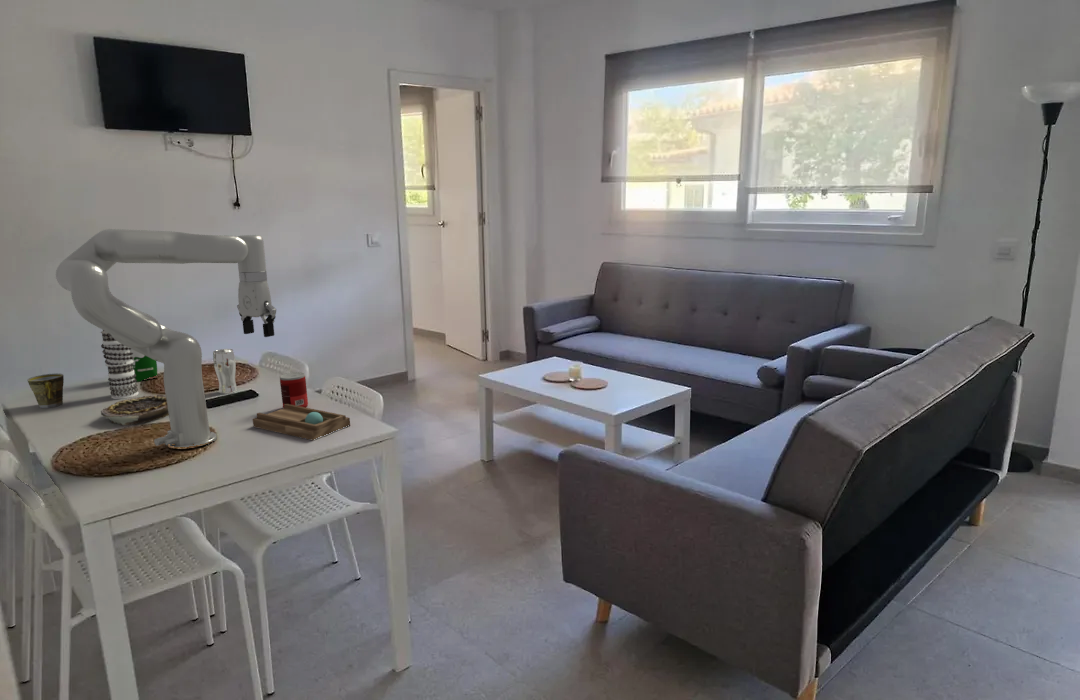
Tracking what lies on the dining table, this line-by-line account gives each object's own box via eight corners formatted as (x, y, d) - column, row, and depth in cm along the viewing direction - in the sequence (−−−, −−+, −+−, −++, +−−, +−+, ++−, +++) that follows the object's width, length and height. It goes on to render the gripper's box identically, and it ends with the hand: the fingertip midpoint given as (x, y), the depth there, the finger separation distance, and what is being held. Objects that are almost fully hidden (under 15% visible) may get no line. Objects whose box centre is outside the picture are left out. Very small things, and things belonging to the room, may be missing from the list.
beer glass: (219, 390, 244) (213, 349, 241) (240, 388, 246) (234, 347, 243) (216, 395, 238) (210, 353, 235) (237, 393, 240) (232, 352, 237)
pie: (206, 412, 220) (203, 397, 219) (117, 438, 199) (114, 422, 197) (161, 399, 236) (159, 386, 235) (74, 423, 214) (71, 408, 213)
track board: (313, 440, 190) (311, 428, 190) (253, 426, 203) (252, 415, 203) (350, 425, 202) (349, 413, 201) (291, 413, 215) (290, 402, 214)
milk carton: (135, 383, 257) (126, 331, 253) (130, 378, 264) (122, 328, 259) (160, 378, 263) (153, 328, 258) (155, 374, 269) (148, 325, 265)
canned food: (312, 404, 225) (308, 372, 222) (301, 411, 217) (298, 378, 215) (290, 403, 226) (286, 372, 223) (278, 411, 218) (275, 378, 215)
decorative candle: (119, 400, 234) (107, 329, 229) (104, 397, 239) (92, 327, 233) (145, 393, 242) (134, 325, 237) (130, 390, 247) (119, 323, 241)
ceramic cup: (31, 405, 232) (25, 377, 229) (66, 399, 238) (61, 371, 236) (35, 413, 222) (29, 384, 220) (72, 406, 228) (66, 378, 226)
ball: (315, 423, 196) (304, 412, 197) (310, 434, 199) (299, 423, 200) (328, 417, 200) (317, 406, 201) (323, 428, 203) (312, 417, 204)
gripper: (224, 277, 200) (230, 334, 204) (260, 280, 191) (266, 339, 195) (246, 275, 207) (252, 330, 210) (282, 277, 197) (288, 335, 201)
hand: (259, 334), depth 202 cm, fingers open, 9 cm apart
